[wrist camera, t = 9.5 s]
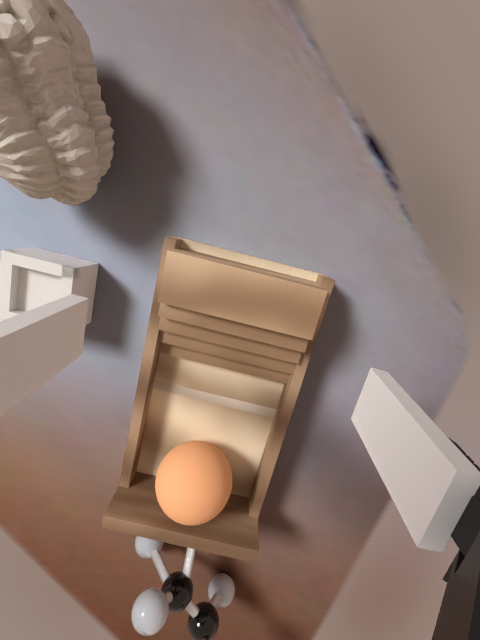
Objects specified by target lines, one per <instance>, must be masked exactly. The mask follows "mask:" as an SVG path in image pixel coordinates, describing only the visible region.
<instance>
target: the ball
mask: <svg viewBox="0 0 480 640" xmlns="http://www.w3.org/2000/svg"><path fill="white" fill-rule="evenodd" d="M231 489H232V472H231V467H230V465H229V462H228V460H227V458H226V457H225V455H224V454H223V453H222V452H221V451H220V450H219V449H218V448H217V447H216V446H214V445H212V444H210V443H208V442H205V441H199V440H193V441H187V442H184V443H182V444H179V445H178V446H176V447H175V448H173V449H172V450H171V451H170V452H168V454H167V455H166V456H165V457H164V459H163V460H162V462H161V464H160V466H159V468H158V471H157V475H156V480H155V491H156V497H157V500H158V503H159V505H160V507H161V508H162V510H163V512H164V513H165V514H166V515H167V516H168V517H169V518H171V519H172V520H174V521H175V522H177V523H180V524H183V525H189V526H193V525H200V524H204V523H206V522H208V521H210V520H212V519H213V518H214V517H216V516H217V515H218V514H219V513H220V512H221V511H222V510H223V508H224V507H225V505H226V503H227V501H228V499H229V497H230V494H231Z"/></svg>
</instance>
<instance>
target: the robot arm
mask: <svg viewBox="0 0 480 640" xmlns="http://www.w3.org/2000/svg"><path fill="white" fill-rule="evenodd" d="M88 302H89V298H86V297H82V296H78V295H74V294H71V295H68V296H65V297H63V298H60V299H58V300H55V301H52V302H50V303H47V304H45V305H42V306H39V307H37V308H34V309H31V310H29V311H26V312H24V313H21V314H18V315H16V316H13V317H10V318H8V319H5V320H3V321H0V416H1V415H3V414H4V413H5V412H7V411H8V410H9V409H11V408H12V407H13V406H14V405H16V404H17V403H18V402H20V401H21V400H22V399H24V398H25V397H26V396H28V395H29V394H30V393H32V392H33V391H34V390H36V389H37V388H38V387H40V386H41V385H42V384H43V383H45V382H46V381H47V380H49V379H50V378H51V377H53V376H54V375H55V374H57V373H58V372H59V371H61V370H62V369H63V368H65V367H66V366H67V365H68V364H70V363H71V362H72V361H74V360H75V359H76V358H78V357H79V356H80V355H82V351H83V343H84V335H85V327H86V318H87V310H88ZM351 420H352V422H353V424H354V426H355V428H356V430H357V432H358V433H359V435H360V437H361V439H362V441H363V443H364V445H365V447H366V449H367V451H368V453H369V455H370V457H371V459H372V461H373V463H374V465H375V467H376V469H377V470H378V472H379V474H380V476H381V478H382V480H383V482H384V484H385V486H386V488H387V490H388V492H389V494H390V496H391V498H392V500H393V502H394V504H395V505H396V507H397V509H398V511H399V513H400V515H401V517H402V519H403V521H404V523H405V525H406V526H407V529H408V531H409V533H410V535H411V537H412V539H413V540H414V542H415V544H416V546H417V548H422V549H426V550H431V551H435V552H440V553H443V551H444V549H445V547H446V545H447V544H448V542H449V540H450V538H451V537H452V538H453V540H454V541H455V543H456V544H457V546H458V547H459V549H460V550H459V551H458V553H457V555H456V557H455V558H454V560H453V562H452V564H451V565H450V567H449V569H448V571H447V572H446V574H445V576H444V578H443V580H444V581H446V582H447V587H446V590H445V594H444V597H443V601H442V605H441V608H440V612H439V615H438V619H437V623H436V626H435V630H434V633H433V637H432V640H480V468H479V467H478V466H477V465H476V464H474V462H473V461H472V460H471V458H469V456H467V455H466V453H465V452H464V451H463V450H462V449H461V448H460V447H459V446H458V445H457V444H456V443H455V442H454V441H452V440H451V439H450V438H448V437H447V436H446V435H445V434H444V433H443V432H442V431H441V430H440V429H439V427H438V426H437V425H436V424H435V423H434V422H433V421H432V420H431V419H430V418H429V417H428V416H427V414H426V413H425V412H424V411H423V410H422V409H421V408H420V407H419V406H418V405H417V404H416V403H415V402H414V400H413V399H412V398H411V397H410V396H409V395H408V394H407V393H406V392H405V391H404V390H403V389H402V387H401V386H400V385H399V384H398V383H397V382H396V381H395V380H394V379H393V378H392V377H391V376H390V374H389V373H388V372H387V371H382V370H378V369H374V368H371V369H370V371H369V374H368V376H367V379H366V381H365V384H364V386H363V389H362V392H361V394H360V397H359V399H358V402H357V404H356V407H355V409H354V412H353V415H352V417H351Z"/></svg>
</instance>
